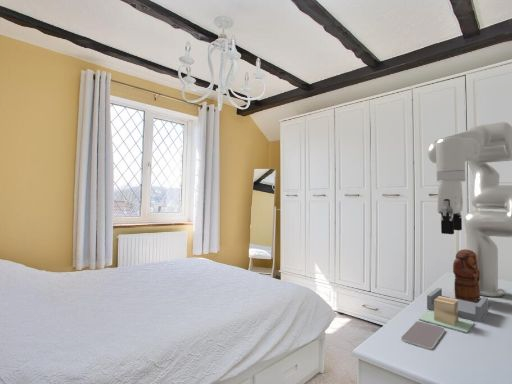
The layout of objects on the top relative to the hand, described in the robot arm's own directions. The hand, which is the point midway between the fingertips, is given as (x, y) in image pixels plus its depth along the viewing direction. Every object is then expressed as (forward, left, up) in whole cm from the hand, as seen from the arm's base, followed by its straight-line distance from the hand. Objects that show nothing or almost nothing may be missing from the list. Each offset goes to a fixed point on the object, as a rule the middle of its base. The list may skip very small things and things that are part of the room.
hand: (451, 231), depth 93 cm
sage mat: (+7, 0, -26) cm, 27 cm away
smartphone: (+21, -2, -27) cm, 34 cm away
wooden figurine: (-21, 0, -26) cm, 34 cm away
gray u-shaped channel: (-6, 0, -26) cm, 27 cm away
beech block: (+7, 0, -26) cm, 27 cm away
